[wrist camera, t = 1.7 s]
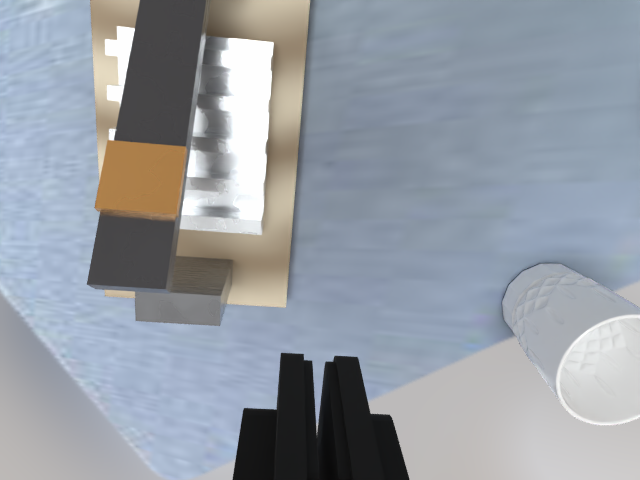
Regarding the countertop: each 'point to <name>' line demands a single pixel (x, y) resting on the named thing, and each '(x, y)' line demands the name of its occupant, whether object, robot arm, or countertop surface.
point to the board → (284, 128)
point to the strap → (150, 150)
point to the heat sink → (214, 170)
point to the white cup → (578, 341)
